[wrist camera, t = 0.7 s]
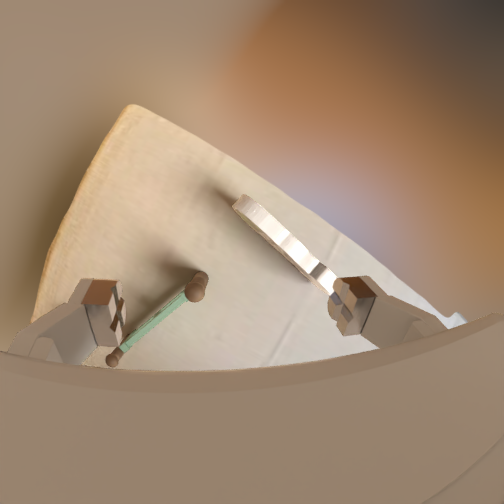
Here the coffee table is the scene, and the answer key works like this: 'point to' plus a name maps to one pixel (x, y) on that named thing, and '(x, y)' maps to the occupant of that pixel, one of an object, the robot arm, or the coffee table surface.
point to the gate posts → (192, 293)
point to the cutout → (284, 243)
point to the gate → (153, 321)
